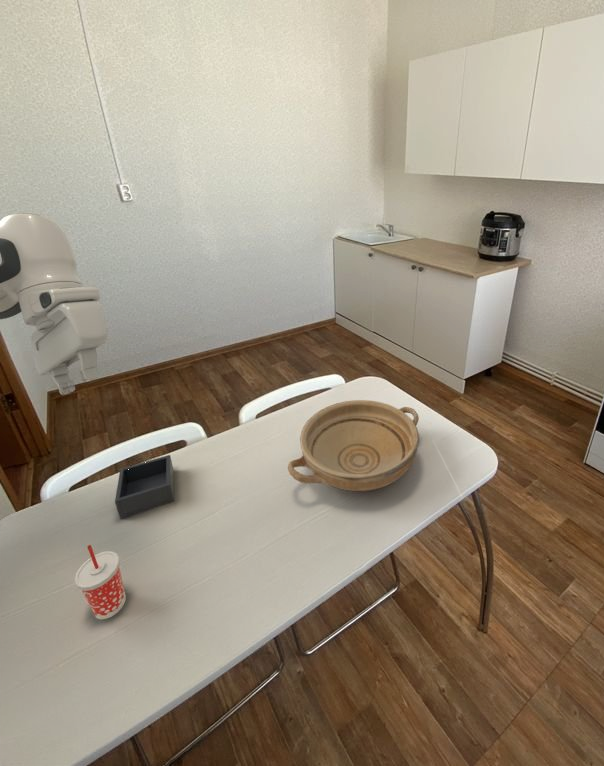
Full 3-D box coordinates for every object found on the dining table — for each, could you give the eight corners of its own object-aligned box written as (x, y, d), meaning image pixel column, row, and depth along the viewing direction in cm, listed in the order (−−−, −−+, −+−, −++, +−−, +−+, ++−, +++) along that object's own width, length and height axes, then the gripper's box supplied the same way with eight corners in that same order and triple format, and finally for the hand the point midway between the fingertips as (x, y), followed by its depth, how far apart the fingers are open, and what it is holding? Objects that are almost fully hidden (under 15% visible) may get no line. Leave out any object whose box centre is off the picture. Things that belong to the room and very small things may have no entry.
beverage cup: (87, 602, 66) (64, 543, 61) (127, 579, 70) (108, 522, 65) (91, 633, 62) (66, 573, 57) (133, 607, 65) (114, 548, 60)
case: (120, 519, 82) (114, 501, 80) (125, 485, 91) (120, 468, 89) (174, 501, 86) (170, 484, 84) (173, 470, 95) (170, 454, 93)
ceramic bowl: (326, 550, 75) (324, 511, 71) (266, 465, 96) (262, 433, 93) (453, 466, 95) (456, 432, 92) (380, 412, 117) (380, 383, 113)
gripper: (13, 329, 66) (34, 405, 65) (55, 286, 56) (81, 377, 54) (56, 324, 72) (76, 394, 71) (102, 284, 61) (127, 366, 60)
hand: (79, 386), depth 62 cm, fingers open, 8 cm apart
